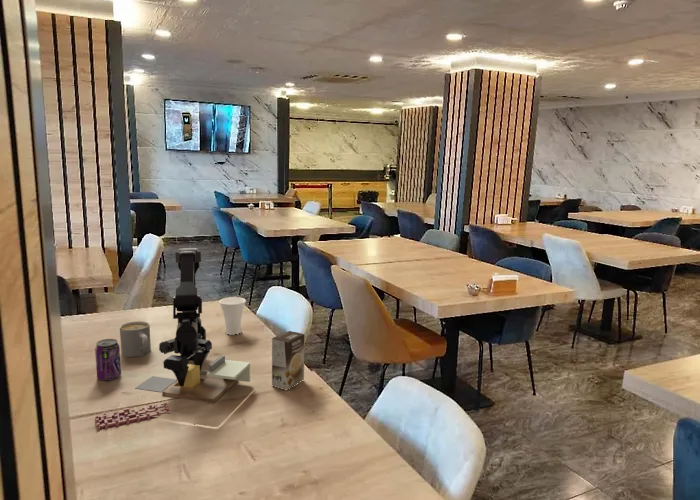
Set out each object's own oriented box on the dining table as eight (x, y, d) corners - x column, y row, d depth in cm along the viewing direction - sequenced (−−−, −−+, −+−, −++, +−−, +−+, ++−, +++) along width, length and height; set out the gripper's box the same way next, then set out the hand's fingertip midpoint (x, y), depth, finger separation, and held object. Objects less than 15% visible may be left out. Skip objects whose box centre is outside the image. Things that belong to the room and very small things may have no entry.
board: (190, 374, 171) (190, 367, 170) (238, 381, 167) (238, 374, 167) (162, 396, 156) (162, 388, 155) (213, 404, 152) (213, 396, 151)
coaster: (152, 377, 168) (152, 376, 168) (177, 381, 166) (177, 379, 166) (134, 389, 160) (134, 388, 159) (160, 393, 157) (160, 391, 157)
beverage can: (112, 383, 164) (109, 347, 162) (92, 380, 165) (89, 344, 163) (125, 373, 171) (123, 339, 168) (106, 371, 172) (104, 337, 170)
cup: (214, 333, 210) (213, 301, 207) (233, 326, 218) (232, 295, 216) (233, 339, 204) (232, 306, 202) (251, 331, 213) (251, 299, 210)
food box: (287, 391, 161) (287, 342, 158) (271, 386, 164) (271, 338, 161) (304, 380, 169) (305, 333, 166) (288, 376, 172) (288, 330, 169)
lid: (224, 377, 166) (223, 353, 164) (250, 380, 164) (249, 356, 162) (206, 392, 155) (206, 367, 154) (234, 396, 153) (234, 370, 152)
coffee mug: (118, 350, 190) (116, 324, 189) (146, 344, 196) (145, 319, 194) (127, 362, 180) (125, 335, 178) (156, 356, 185) (155, 329, 184)
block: (187, 381, 165) (186, 363, 164) (200, 383, 164) (199, 365, 163) (179, 387, 161) (178, 369, 159) (192, 389, 160) (191, 371, 158)
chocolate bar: (172, 416, 145) (172, 409, 145) (97, 432, 136) (96, 425, 136) (167, 405, 152) (167, 398, 151) (95, 420, 143) (95, 413, 142)
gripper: (181, 320, 170) (182, 365, 173) (146, 339, 152) (148, 389, 155) (212, 323, 167) (213, 369, 170) (180, 343, 149) (182, 394, 152)
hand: (189, 379), depth 162 cm, fingers open, 9 cm apart
